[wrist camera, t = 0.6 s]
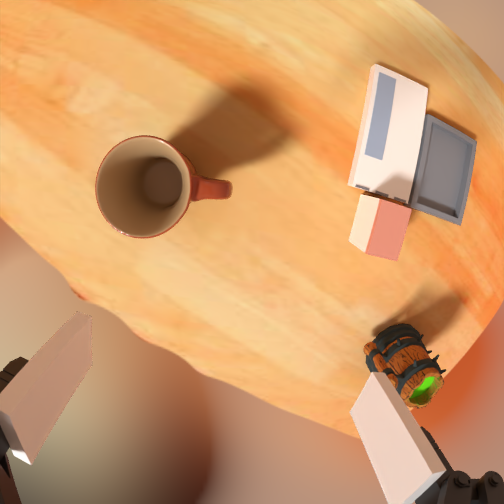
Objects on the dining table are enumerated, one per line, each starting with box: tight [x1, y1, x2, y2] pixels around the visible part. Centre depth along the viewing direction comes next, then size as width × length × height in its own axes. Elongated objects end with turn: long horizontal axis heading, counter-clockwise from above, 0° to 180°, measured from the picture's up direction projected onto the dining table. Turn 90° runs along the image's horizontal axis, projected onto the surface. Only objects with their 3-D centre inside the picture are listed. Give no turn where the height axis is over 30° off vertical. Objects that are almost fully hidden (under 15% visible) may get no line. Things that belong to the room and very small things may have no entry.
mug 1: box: [95, 135, 233, 238], centre depth 29 cm, size 12×9×10 cm
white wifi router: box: [348, 64, 428, 204], centre depth 32 cm, size 16×8×2 cm, turn 167°
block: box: [349, 194, 412, 261], centre depth 33 cm, size 6×4×6 cm, turn 168°
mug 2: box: [363, 324, 446, 408], centre depth 35 cm, size 13×10×12 cm
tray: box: [404, 114, 477, 226], centre depth 33 cm, size 13×10×2 cm
